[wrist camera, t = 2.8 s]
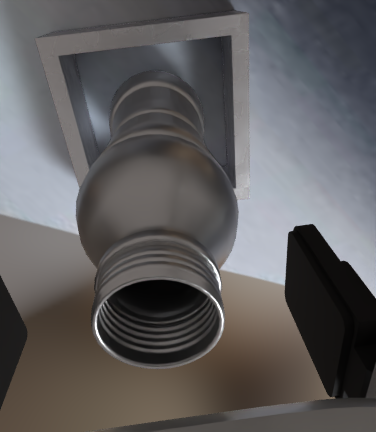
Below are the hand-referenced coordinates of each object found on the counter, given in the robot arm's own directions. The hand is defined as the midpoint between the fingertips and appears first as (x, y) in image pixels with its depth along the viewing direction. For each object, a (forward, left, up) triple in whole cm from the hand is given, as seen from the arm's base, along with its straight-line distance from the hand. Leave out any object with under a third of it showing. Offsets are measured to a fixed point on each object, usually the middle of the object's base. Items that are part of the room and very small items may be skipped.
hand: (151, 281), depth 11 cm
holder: (0, 0, -18) cm, 18 cm away
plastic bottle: (0, 0, -18) cm, 18 cm away
